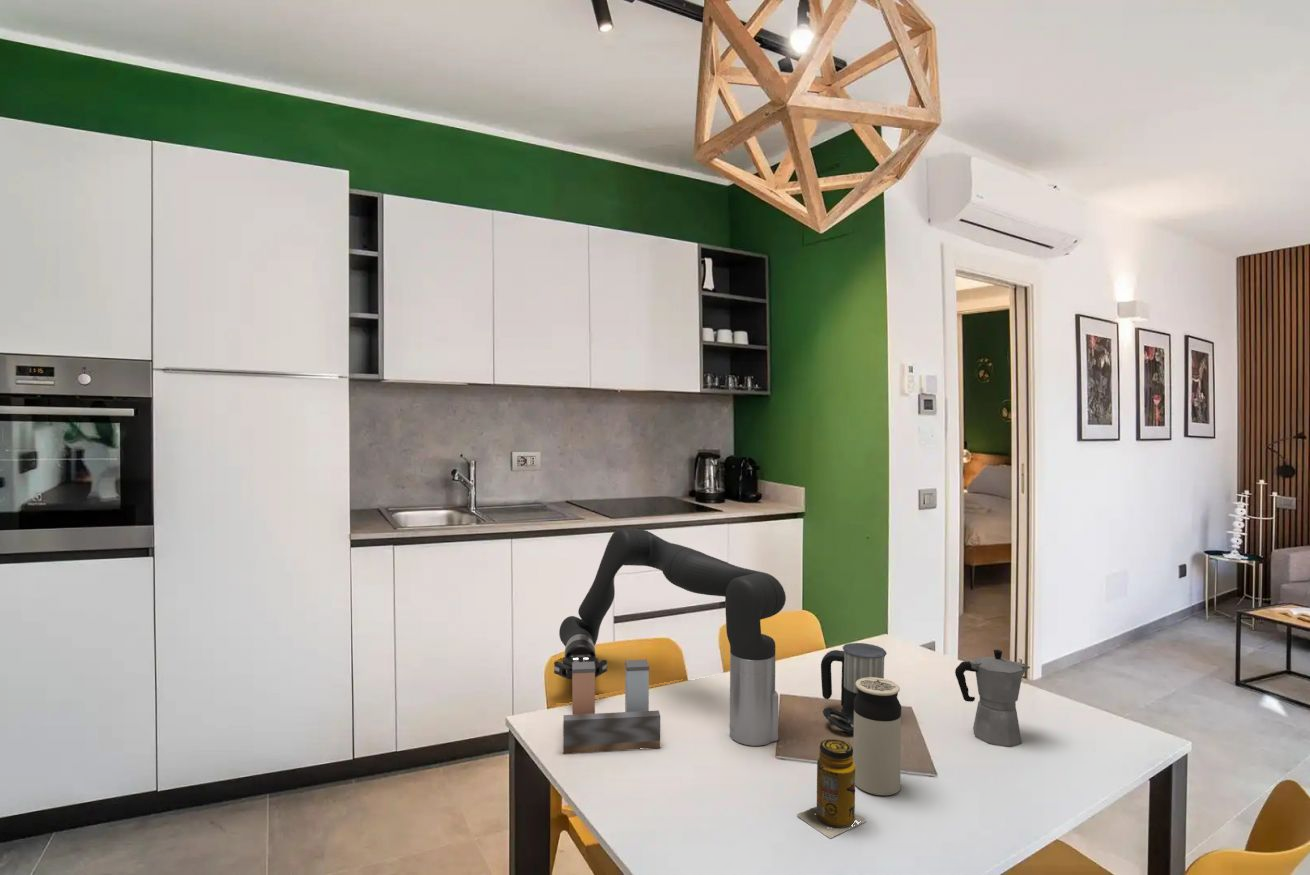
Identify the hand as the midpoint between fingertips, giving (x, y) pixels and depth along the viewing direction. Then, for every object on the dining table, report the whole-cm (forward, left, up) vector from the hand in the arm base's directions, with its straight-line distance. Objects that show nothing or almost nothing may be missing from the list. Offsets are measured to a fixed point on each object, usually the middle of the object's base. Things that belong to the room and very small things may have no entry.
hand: (581, 681), depth 150 cm
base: (-6, +11, -7) cm, 14 cm away
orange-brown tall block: (0, +11, -5) cm, 12 cm away
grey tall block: (-11, +11, -5) cm, 17 cm away
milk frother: (-59, +11, -7) cm, 60 cm away
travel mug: (-52, +36, -7) cm, 63 cm away
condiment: (-40, +45, -7) cm, 61 cm away
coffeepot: (-84, +21, -7) cm, 87 cm away
